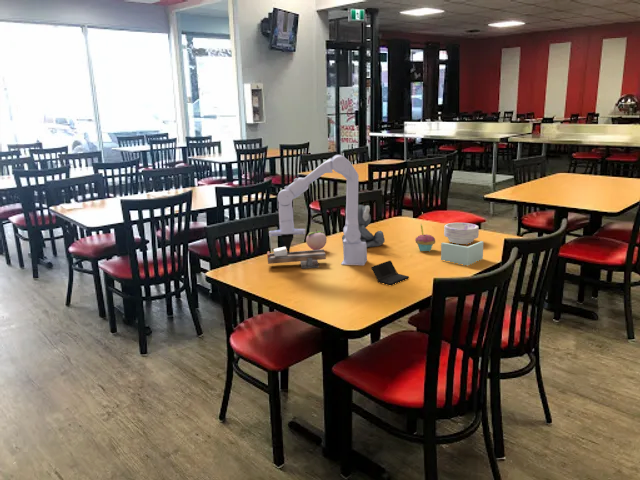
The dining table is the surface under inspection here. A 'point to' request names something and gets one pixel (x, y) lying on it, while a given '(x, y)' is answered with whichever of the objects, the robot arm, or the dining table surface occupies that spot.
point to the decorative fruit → (316, 240)
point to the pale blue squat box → (462, 253)
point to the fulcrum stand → (309, 263)
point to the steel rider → (280, 252)
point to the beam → (297, 256)
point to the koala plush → (366, 236)
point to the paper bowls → (461, 232)
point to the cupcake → (425, 241)
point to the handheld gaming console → (387, 273)
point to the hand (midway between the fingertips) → (288, 252)
